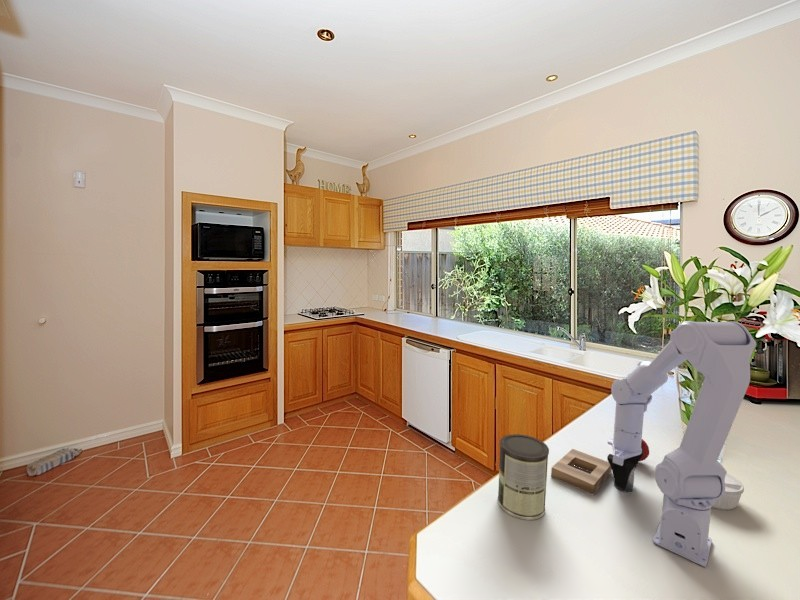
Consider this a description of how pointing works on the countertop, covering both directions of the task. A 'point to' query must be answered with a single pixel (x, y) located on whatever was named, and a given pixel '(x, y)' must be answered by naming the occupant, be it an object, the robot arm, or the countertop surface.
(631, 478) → the brushed metal cylinder
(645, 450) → the onion
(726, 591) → the countertop surface
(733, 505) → the ramekin
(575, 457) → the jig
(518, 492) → the coffee can
